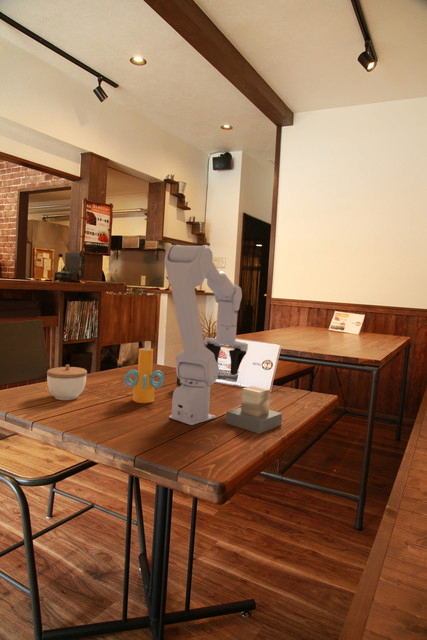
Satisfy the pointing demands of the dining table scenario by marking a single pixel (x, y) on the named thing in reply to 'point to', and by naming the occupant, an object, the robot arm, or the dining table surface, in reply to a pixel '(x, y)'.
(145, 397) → the cylinder
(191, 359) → the robot arm
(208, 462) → the dining table surface
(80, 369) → the lidded jar
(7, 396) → the dining table surface
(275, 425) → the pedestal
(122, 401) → the dining table surface
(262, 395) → the cream block
